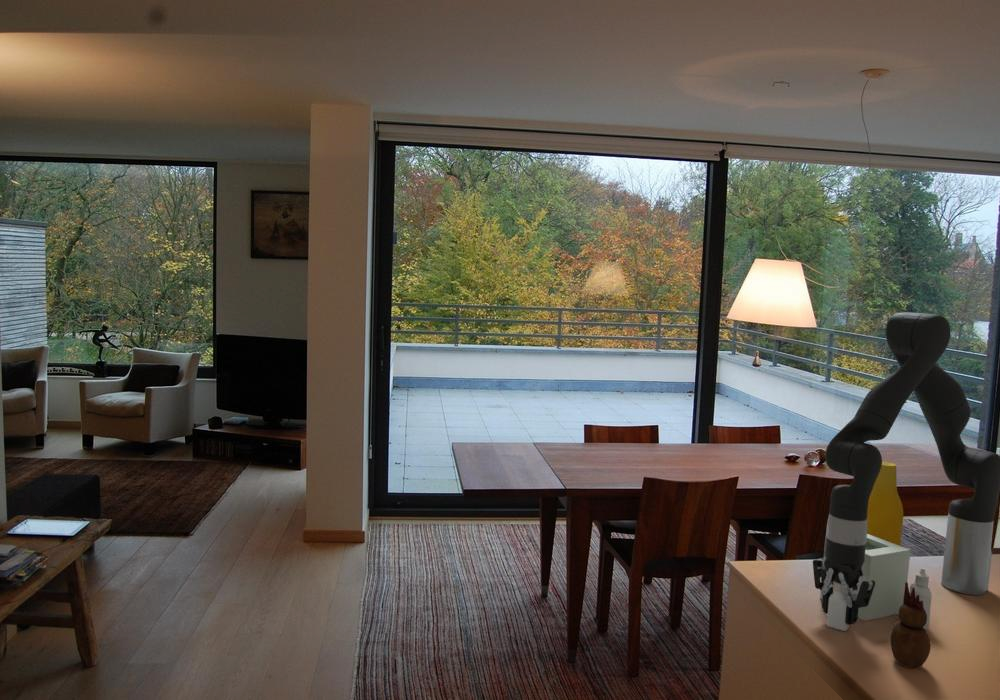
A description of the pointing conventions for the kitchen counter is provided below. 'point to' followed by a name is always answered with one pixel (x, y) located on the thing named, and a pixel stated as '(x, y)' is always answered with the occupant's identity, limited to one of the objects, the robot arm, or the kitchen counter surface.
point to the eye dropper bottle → (923, 592)
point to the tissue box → (883, 577)
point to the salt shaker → (837, 608)
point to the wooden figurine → (910, 632)
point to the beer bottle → (885, 507)
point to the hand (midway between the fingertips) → (838, 617)
